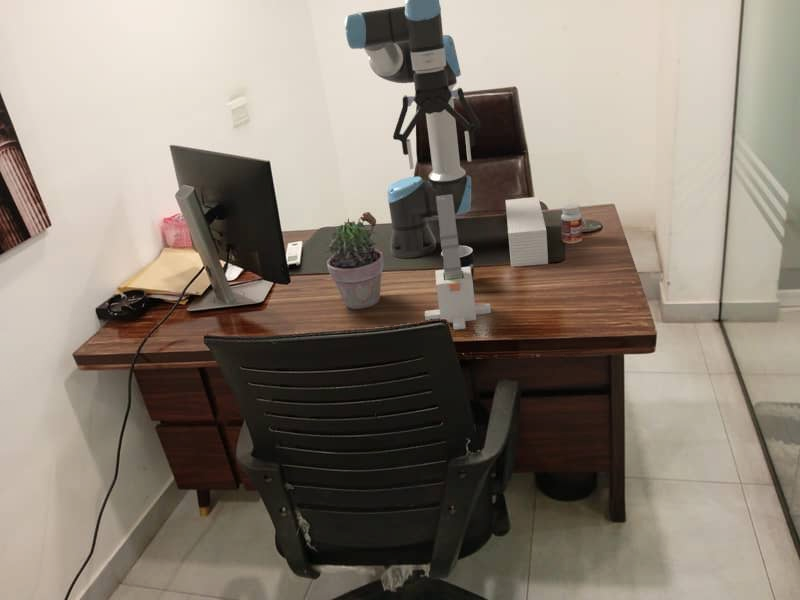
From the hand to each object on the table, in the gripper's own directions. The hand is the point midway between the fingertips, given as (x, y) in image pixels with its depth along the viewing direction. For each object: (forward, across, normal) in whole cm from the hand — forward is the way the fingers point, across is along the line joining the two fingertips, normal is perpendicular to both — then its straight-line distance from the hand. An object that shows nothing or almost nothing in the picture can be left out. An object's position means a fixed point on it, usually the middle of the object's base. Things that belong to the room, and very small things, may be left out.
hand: (440, 164), depth 158 cm
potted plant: (+40, -27, +14) cm, 50 cm away
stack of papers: (+40, +24, +42) cm, 63 cm away
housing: (+40, 0, 0) cm, 40 cm away
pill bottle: (+40, +38, +42) cm, 69 cm away
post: (+33, 0, 0) cm, 33 cm away
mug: (+40, +2, +20) cm, 45 cm away
